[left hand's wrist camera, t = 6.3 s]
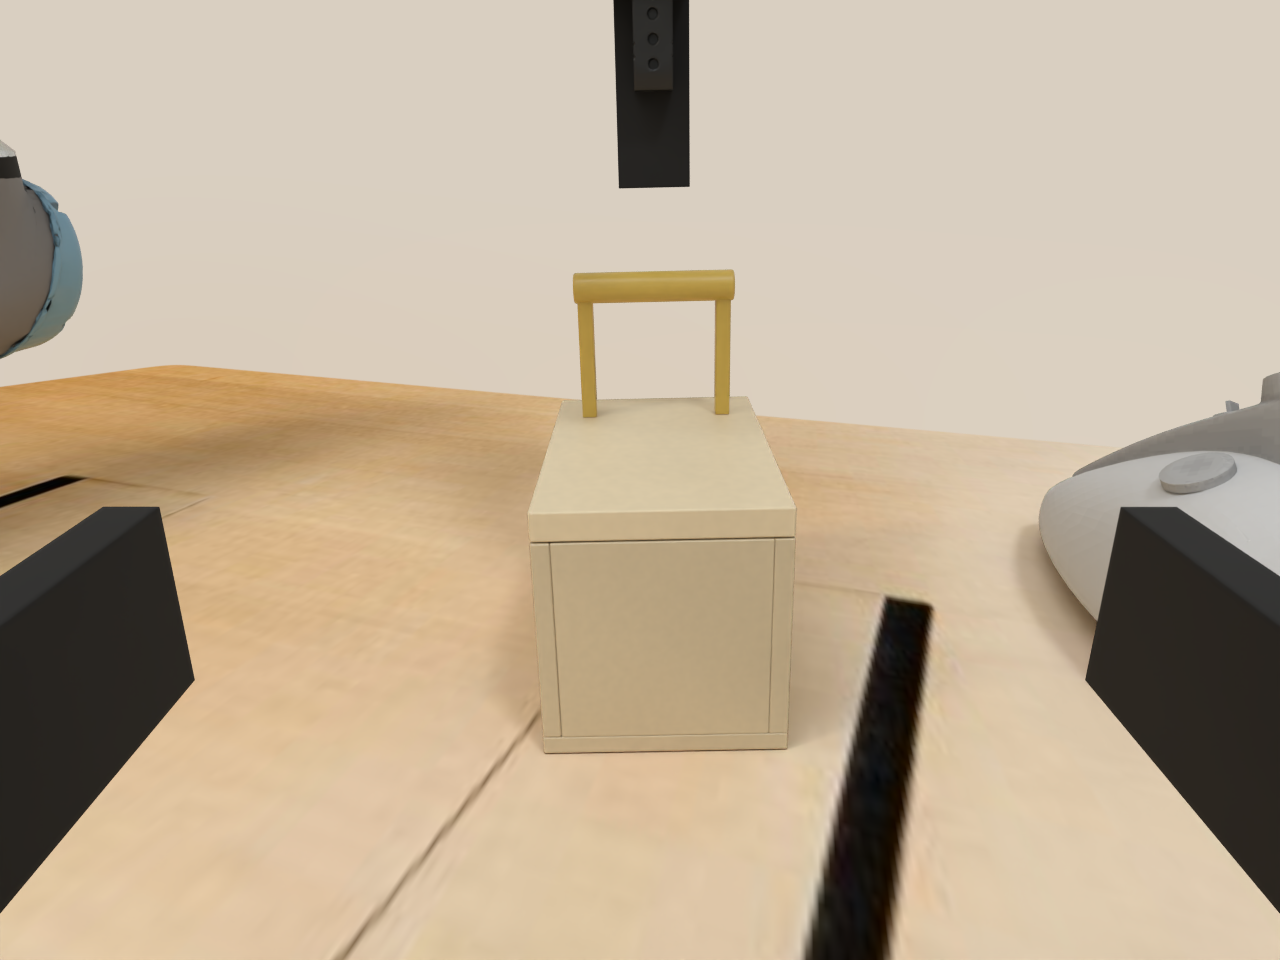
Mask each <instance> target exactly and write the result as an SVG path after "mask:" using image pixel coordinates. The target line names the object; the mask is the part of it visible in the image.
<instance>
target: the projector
mask: <svg viewBox="0 0 1280 960" xmlns="http://www.w3.org/2000/svg"><path fill="white" fill-rule="evenodd" d="M1226 409H1227V412H1224V413H1219V414H1216V415H1214V416H1213V417H1210V418H1207V419H1203V420H1200V421H1197V422H1193V423H1190V424H1187V425H1183V426H1180V427H1177V428H1174V429H1171V430H1168V431H1165V432H1162V433H1160V434H1157V435H1154V436H1152V437H1149V438H1147V439H1144V440H1141V441H1139V442H1136V443H1134V444H1132V445H1129V446H1127V447H1125V448H1122V449H1120V450H1118V451H1116V452H1113V453H1111V454H1109V455H1107V456H1105V457H1103V458H1101V459H1099V460H1097V461H1095V462H1093V463H1091V464H1089V465H1087V466H1085V467H1083V468H1081V469H1079V470H1078V471H1076V472H1075V473H1074V474H1073V477H1071V478H1068V479H1066V480H1064V481H1062V482H1060V483H1058V484H1056V485H1055V486H1053V487H1052V488H1051V489H1050V490H1049V491H1048V492H1047V493H1046V495H1045V497H1044V499H1043V502H1042V504H1041V508H1040V513H1039V528H1040V533H1041V537H1042V540H1043V543H1044V546H1045V548H1046V550H1047V552H1048V554H1049V557H1050V559H1051V561H1052V563H1053V564H1054V566H1055V568H1056V569H1057V571H1058V573H1059V574H1060V576H1061V577H1062V579H1063V580H1064V582H1065V583H1066V584H1067V586H1068V587H1069V589H1070V590H1071V591H1072V592H1073V594H1074V595H1075V596H1076V598H1077V599H1078V600H1079V601H1080V603H1081V604H1082V605H1083V606H1084V607H1085V608H1086V610H1087V611H1088V612H1089V613H1090V614H1091V615H1092V616H1093V617H1094V619H1095V620H1096V621H1097V620H1098V615H1099V611H1100V606H1101V601H1102V596H1103V591H1104V586H1105V581H1106V576H1107V571H1108V567H1109V562H1110V557H1111V552H1112V547H1113V542H1114V537H1115V532H1116V527H1117V523H1118V518H1119V513H1120V508H1121V507H1178V508H1179V509H1181V510H1182V511H1184V512H1185V513H1187V514H1188V515H1190V516H1191V517H1193V518H1194V519H1196V520H1197V521H1199V522H1200V523H1202V524H1203V525H1205V526H1206V527H1208V528H1209V529H1210V530H1212V531H1213V532H1215V533H1216V534H1218V535H1219V536H1221V537H1222V538H1224V539H1225V540H1227V541H1228V542H1230V543H1231V544H1233V545H1234V546H1236V547H1237V548H1239V549H1240V550H1242V551H1243V552H1245V553H1246V554H1248V555H1249V556H1251V557H1252V558H1254V559H1255V560H1257V561H1258V562H1260V563H1261V564H1263V565H1264V566H1266V567H1267V568H1268V569H1270V570H1271V571H1273V572H1274V573H1276V574H1277V575H1279V576H1280V372H1279V373H1276V374H1273V375H1270V376H1267V377H1266V378H1264V379H1263V385H1262V396H1261V402H1260V403H1259V404H1258V405H1255V406H1251V407H1248V408H1244V409H1240V410H1239V404H1238V403H1235V402H1232V401H1226Z"/></svg>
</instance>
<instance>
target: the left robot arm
mask: <svg viewBox="0 0 1280 960" xmlns="http://www.w3.org/2000/svg"><path fill="white" fill-rule="evenodd" d="M194 680H195V679H194V674H193V669H192V664H191V660H190V655H189V650H188V645H187V640H186V635H185V630H184V625H183V620H182V615H181V611H180V606H179V601H178V596H177V591H176V586H175V581H174V576H173V571H172V567H171V562H170V557H169V552H168V547H167V542H166V537H165V532H164V527H163V523H162V518H161V513H160V508H159V507H102V508H101V509H99V510H98V511H96V512H95V513H93V514H92V515H90V516H89V517H87V518H86V519H84V520H83V521H81V522H80V523H78V524H77V525H75V526H74V527H72V528H71V529H69V530H68V531H67V532H65V533H64V534H62V535H61V536H59V537H58V538H56V539H55V540H53V541H52V542H50V543H49V544H47V545H46V546H44V547H43V548H41V549H40V550H38V551H37V552H35V553H34V554H32V555H31V556H29V557H28V558H26V559H25V560H23V561H22V562H20V563H19V564H17V565H16V566H14V567H13V568H12V569H10V570H9V571H7V572H6V573H4V574H3V575H1V576H0V913H1V912H2V911H3V909H4V908H5V907H6V906H7V905H8V903H9V902H10V901H11V900H12V899H13V897H14V896H15V895H16V894H17V893H18V891H19V890H20V889H21V888H22V887H23V885H24V884H25V883H26V882H27V881H28V879H29V878H30V877H31V876H32V875H33V873H34V872H35V871H36V870H37V869H38V867H39V866H40V865H41V864H42V863H43V861H44V860H45V859H46V858H47V857H48V855H49V854H50V853H51V852H52V851H53V849H54V848H55V847H56V846H57V845H58V843H59V842H60V841H61V840H62V839H63V837H64V836H65V835H66V834H67V833H68V831H69V830H70V829H71V828H72V827H73V825H74V824H75V823H76V822H77V821H78V819H79V818H80V817H81V816H82V815H83V813H84V812H85V811H86V810H87V809H88V807H89V806H90V805H91V804H92V803H93V801H94V800H95V799H96V798H97V797H98V795H99V794H100V793H101V792H102V791H103V789H104V788H105V787H106V786H107V785H108V783H109V782H110V781H111V780H112V779H113V777H114V776H115V775H116V774H117V773H118V771H119V770H120V769H121V768H122V767H123V765H124V764H125V763H126V762H127V761H128V759H129V758H130V757H131V756H132V755H133V753H134V752H135V751H136V750H137V749H138V747H139V746H140V745H141V744H142V743H143V741H144V740H145V739H146V738H147V737H148V735H149V734H150V733H151V732H152V731H153V729H154V728H155V727H156V726H157V725H158V723H159V722H160V721H161V720H162V719H163V717H164V716H165V715H166V714H167V713H168V711H169V710H170V709H171V708H172V707H173V705H174V704H175V703H176V702H177V701H178V699H179V698H180V697H181V696H182V695H183V693H184V692H185V691H186V690H187V689H188V687H189V686H190V685H191V684H192V683H193V681H194ZM1085 680H1086V681H1087V683H1088V684H1089V685H1090V686H1091V687H1092V689H1093V690H1094V691H1095V692H1096V693H1097V695H1098V696H1099V697H1100V698H1101V699H1102V701H1103V702H1104V703H1105V704H1106V705H1107V707H1108V708H1109V709H1110V710H1111V711H1112V713H1113V714H1114V715H1115V716H1116V717H1117V719H1118V720H1119V721H1120V722H1121V723H1122V725H1123V726H1124V727H1125V728H1126V729H1127V731H1128V732H1129V733H1130V734H1131V735H1132V737H1133V738H1134V739H1135V740H1136V741H1137V743H1138V744H1139V745H1140V746H1141V747H1142V749H1143V750H1144V751H1145V752H1146V753H1147V755H1148V756H1149V757H1150V758H1151V759H1152V761H1153V762H1154V763H1155V764H1156V765H1157V767H1158V768H1159V769H1160V770H1161V771H1162V773H1163V774H1164V775H1165V776H1166V777H1167V779H1168V780H1169V781H1170V782H1171V783H1172V785H1173V786H1174V787H1175V788H1176V789H1177V791H1178V792H1179V793H1180V794H1181V795H1182V797H1183V798H1184V799H1185V800H1186V801H1187V803H1188V804H1189V805H1190V806H1191V807H1192V809H1193V810H1194V811H1195V812H1196V813H1197V815H1198V816H1199V817H1200V818H1201V819H1202V821H1203V822H1204V823H1205V824H1206V825H1207V827H1208V828H1209V829H1210V830H1211V831H1212V833H1213V834H1214V835H1215V836H1216V837H1217V839H1218V840H1219V841H1220V842H1221V843H1222V845H1223V846H1224V847H1225V848H1226V849H1227V851H1228V852H1229V853H1230V854H1231V855H1232V857H1233V858H1234V859H1235V860H1236V861H1237V863H1238V864H1239V865H1240V866H1241V867H1242V869H1243V870H1244V871H1245V872H1246V873H1247V875H1248V876H1249V877H1250V878H1251V879H1252V881H1253V882H1254V883H1255V884H1256V885H1257V887H1258V888H1259V889H1260V890H1261V891H1262V893H1263V894H1264V895H1265V896H1266V897H1267V899H1268V900H1269V901H1270V902H1271V903H1272V905H1273V906H1274V907H1275V908H1276V909H1277V911H1278V912H1279V913H1280V576H1279V575H1277V574H1276V573H1274V572H1273V571H1271V570H1270V569H1268V568H1267V567H1266V566H1264V565H1263V564H1261V563H1260V562H1258V561H1257V560H1255V559H1254V558H1252V557H1251V556H1249V555H1248V554H1246V553H1245V552H1243V551H1242V550H1240V549H1239V548H1237V547H1236V546H1234V545H1233V544H1231V543H1230V542H1228V541H1227V540H1225V539H1224V538H1222V537H1221V536H1219V535H1218V534H1216V533H1215V532H1213V531H1212V530H1210V529H1209V528H1208V527H1206V526H1205V525H1203V524H1202V523H1200V522H1199V521H1197V520H1196V519H1194V518H1193V517H1191V516H1190V515H1188V514H1187V513H1185V512H1184V511H1182V510H1181V509H1179V508H1178V507H1121V508H1120V513H1119V518H1118V523H1117V527H1116V532H1115V537H1114V542H1113V547H1112V552H1111V557H1110V562H1109V567H1108V571H1107V576H1106V581H1105V586H1104V591H1103V596H1102V601H1101V606H1100V611H1099V615H1098V620H1097V625H1096V630H1095V635H1094V640H1093V645H1092V650H1091V655H1090V660H1089V664H1088V669H1087V674H1086V679H1085Z"/></svg>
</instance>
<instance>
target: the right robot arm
mask: <svg viewBox="0 0 1280 960" xmlns="http://www.w3.org/2000/svg"><path fill="white" fill-rule="evenodd" d="M614 32H615V67H616V101H617V136H618V170H619V188H653V187H689V186H690V171H689V0H614ZM82 271H83V266H82V257H81V251H80V246H79V242H78V239H77V236H76V233H75V230H74V228H73V226H72V224H71V222H70V220H69V218H68V216H67V215H66V214H64V213H62V212H58V203H57V201H56V200H55V199H54V198H53V197H52V196H51V195H50V194H49V193H48V192H46V191H45V190H44V189H42V188H41V187H39V186H37V185H35V184H32V183H30V182H28V181H26V180H23V179H22V177H21V173H20V169H19V165H18V161H17V157H16V153H15V151H14V150H13V149H11V148H10V147H9V146H8V145H6V144H5V143H4V142H2V141H1V140H0V359H1V358H4V357H6V356H8V355H10V354H12V353H14V352H17V351H20V350H24V349H28V348H31V347H35V346H38V345H41V344H43V343H45V342H47V341H49V340H50V339H52V338H53V337H55V336H56V335H57V334H58V333H59V332H61V331H62V329H63V328H64V326H65V323H66V321H67V320H68V319H70V318H71V317H72V315H73V314H74V312H75V309H76V307H77V304H78V301H79V298H80V294H81V289H82V279H83V273H82Z"/></svg>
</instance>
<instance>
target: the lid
mask: <svg viewBox="0 0 1280 960" xmlns="http://www.w3.org/2000/svg"><path fill="white" fill-rule="evenodd" d="M573 294H574V302H575V303H576V304H578V324H579V345H580V367H581V388H582V400H564V401H562V404H561V407H560V411H559V414H558V417H557V420H556V423H555V427H554V430H553V433H552V436H551V439H550V443H549V446H548V449H547V452H546V455H545V459H544V462H543V465H542V468H541V471H540V475H539V478H538V481H537V484H536V487H535V491H534V494H533V497H532V500H531V503H530V507H529V510H528V513H527V520H528V534H529V541H530V542H560V541H609V540H657V539H705V538H753V537H794V536H795V535H796V514H797V508H796V506H795V503H794V501H793V499H792V497H791V494H790V492H789V490H788V488H787V485H786V483H785V481H784V479H783V476H782V474H781V472H780V469H779V467H778V465H777V463H776V460H775V458H774V456H773V454H772V451H771V449H770V447H769V444H768V442H767V440H766V438H765V435H764V433H763V431H762V429H761V426H760V424H759V422H758V419H757V417H756V415H755V413H754V410H753V408H752V406H751V404H750V401H749V399H748V397H746V396H745V397H730V317H731V300H733V299H734V294H735V276H734V271H733V270H692V271H648V272H605V273H575V274H574V275H573ZM712 300H715V396H714V397H700V398H655V399H609V400H597V392H596V367H595V342H594V318H593V303H623V302H624V303H625V302H669V301H712Z"/></svg>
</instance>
